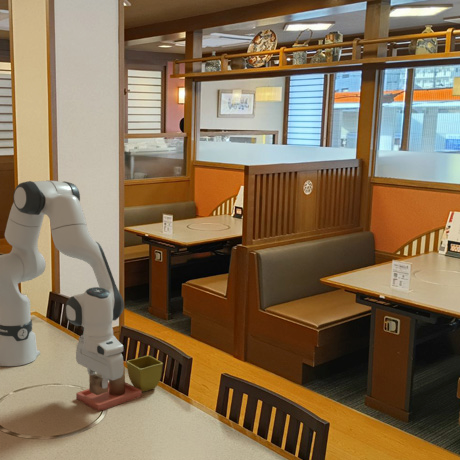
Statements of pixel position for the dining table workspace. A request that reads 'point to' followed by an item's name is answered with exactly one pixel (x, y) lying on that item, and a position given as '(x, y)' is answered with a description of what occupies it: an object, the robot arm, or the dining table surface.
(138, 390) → the tray
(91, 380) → the block
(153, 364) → the flower pot
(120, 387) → the brown cylinder
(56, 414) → the dining table surface
